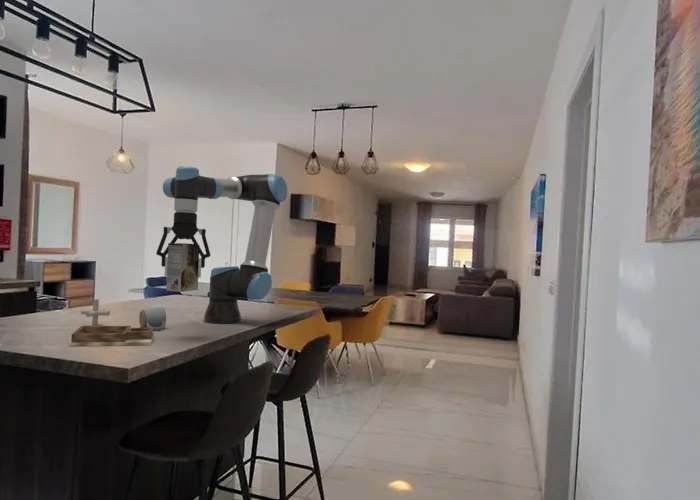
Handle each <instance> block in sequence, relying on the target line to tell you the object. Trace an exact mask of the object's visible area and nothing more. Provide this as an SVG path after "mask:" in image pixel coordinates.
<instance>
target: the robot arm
mask: <svg viewBox="0 0 700 500" xmlns="http://www.w3.org/2000/svg"><path fill="white" fill-rule="evenodd" d="M175 171H176V172H175V176H174V177H168V178H166V179H165V180H164V181H163V183H162V192H163V193H164V195H165V196H166V197H167V198H172V199H174V202H173V203H174V207H173V210H174V211H175V212H174V213H173V225H172V226H168V227H167V226H163V234H162V237H161V239H160V242H159V244H158V247H157V250H156V255H157V256H159V257H161V265H160V266H161V267H162V268H163V267H164V278H167V262H168V246H166V248H165V249H164V251H163V252H162V250H163V248H164V244H165V242H166V239H167V237H168V234H171V231H172V232H173V234H174V237H173V238H172V240H171V241H170V242H169V243H176V242H177V241H178V240H184V239H185V240H191V242H192V244H194V245H195V247H196V249H197V250H198V252H199V269H198V279H201V278H202V269H203V268H205V266H206V265H205V264H206V259H207V258H209V257H211V252H210V248H209V244H208V240H207V237H206V232H207V231H206V229H205V228H198V227H197V224H198V223H197V222H198V220H197V219H198V214H197V212H198V199H209V200H216V199H219V198H228V199H230V200H241V201H248V202H252V205H253V206H254V211H253V217H252V222H251V227H250V231H249V232H250V233H249V237H248V243H247V249H246V254H245V259H244V261H243V262H242V263H240V264H239V265H240V266H224V267H223V266H220V267H213V268H212V269H211V270H210V271H211V272H210V276H209V301H208V302H209V303H208V305H207V308H206V310H205V313H204V316H203V317H204V318H203V321H204V322H206V323H211V324H236V323H237V324H238V323H240V322H241V321H242V317H241V312H240V309H239V305H238V299H246V300H251V301H255V300H263V299H264V298H266V296H267V295H268V294H269V293H270V290H271V288H272V284H273V281H272V276H271V274H270V272H269V268H268V267H267V266H266V265H267V257H268V253H269V246H270V241H271V236H272V230H273V223H274V219H275V213H276V211H277V210H278V209H280V205H281V203H282V202H285V201H286V199H287V197H288V187H287V183H286V181H285V179H284V177H283V176H282V175H280V174H273V173H269V174H268V173H267V174H264V173H263V174H245V175H238V176H229V177H227V178H214V177H209V176H203V175H201V174H200V170H199V168H198V167H194V166H188V165H187V166H184V165H183V166H178V167H177V168H176V170H175ZM197 233H199V235H200V236H201V239H202V243H203V247H204V250H205V253H204V251H202V248H201V247H200V244H199V243H198V242H197V240H196V238H195V235H196V234H197ZM198 244H199V245H198Z"/></svg>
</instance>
